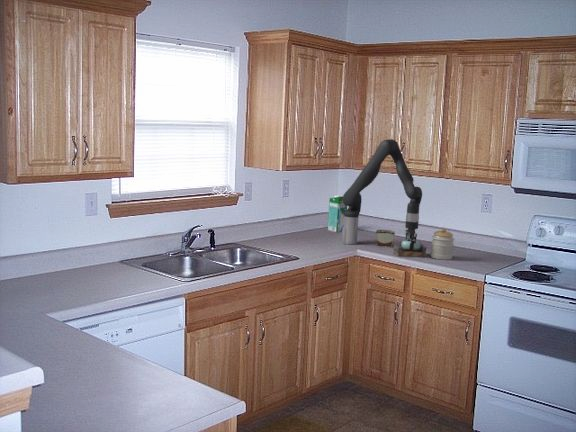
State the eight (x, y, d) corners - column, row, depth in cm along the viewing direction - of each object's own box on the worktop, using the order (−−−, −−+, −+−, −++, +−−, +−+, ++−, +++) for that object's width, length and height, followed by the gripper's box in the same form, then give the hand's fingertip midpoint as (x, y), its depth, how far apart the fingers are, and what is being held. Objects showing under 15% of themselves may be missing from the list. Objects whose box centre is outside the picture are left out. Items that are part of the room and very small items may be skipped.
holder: (397, 256, 392) (398, 247, 391) (393, 253, 400) (394, 244, 400) (425, 257, 394) (426, 247, 393) (420, 253, 403) (421, 244, 402)
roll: (404, 246, 392) (403, 239, 395) (402, 251, 396) (400, 244, 399) (420, 246, 394) (419, 239, 397) (418, 251, 398) (416, 244, 401)
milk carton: (336, 229, 473) (338, 194, 469) (345, 231, 466) (348, 196, 462) (327, 230, 467) (329, 194, 463) (336, 232, 460) (338, 196, 456)
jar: (449, 261, 386) (451, 231, 384) (427, 257, 393) (429, 228, 390) (455, 257, 398) (457, 228, 395) (433, 254, 404) (436, 225, 401)
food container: (393, 245, 424) (394, 230, 422) (394, 247, 418) (395, 231, 416) (374, 244, 425) (375, 228, 424) (374, 246, 419) (375, 230, 417)
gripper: (402, 218, 400) (400, 246, 403) (410, 222, 386) (407, 251, 389) (414, 218, 402) (412, 246, 404) (422, 222, 388) (420, 251, 390)
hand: (409, 248), depth 397 cm, fingers closed on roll, 5 cm apart
